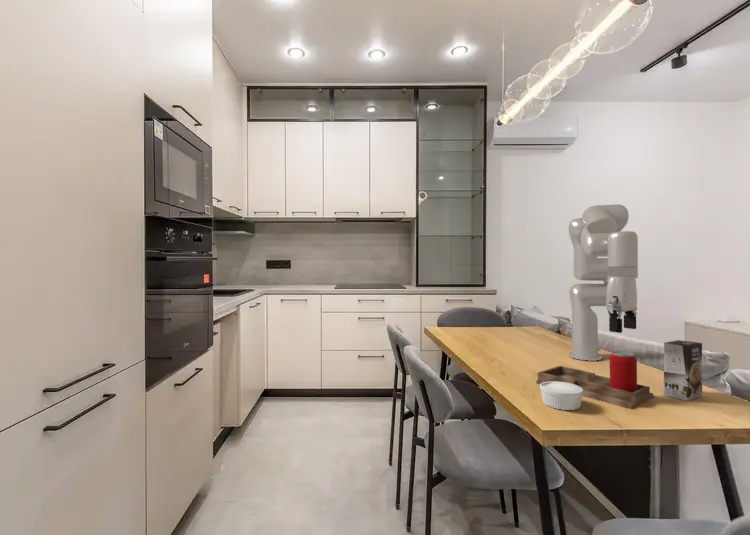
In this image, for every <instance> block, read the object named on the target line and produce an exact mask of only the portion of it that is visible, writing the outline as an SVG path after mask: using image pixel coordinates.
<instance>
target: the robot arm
mask: <svg viewBox="0 0 750 535" xmlns="http://www.w3.org/2000/svg"><path fill="white" fill-rule="evenodd" d="M629 216H630V215H629V210H628V209H627V207H626V206H624V205H623V204H616V203H615V204H599V205H593V206H592V205H591V206H589V207H587V208H586V209H585V210H584V211H583V213H582V217H579V218H578V217H577V218H574V219H572V220H571V221H570V222H569V223H568V235H569V238H570V240H571V244H572V246H573V275H574V277H575V279H576V280H578V281H587V282H588V281H590V282H591V281H596V282H597V281H601V282H603V283H590V282H589V283H584V282H583V283H575V284H573V285H572V286H570V288H569V300H570V304H571V305H570V306H571V326H572V327H571V328H572V329H571V334H572V336H571V337H572V338H571V341H572V343H571V344H572V349H571V350H572V351H570V352H568V355H569V356H568V357H569V358H571V359H574V358H575V359H574V360H578V359H579V361H585V360H588V362H589V361H590V362H596V361H597V360H599V361H601V359H602V360H603V356H602V355H601V354H599V351H601V346H599V340H598V339H599V334H598V333H599V327H598V325H599V324H598V323H599V321H598V320H599V319H598V318H599V317H598V315H597V313H596V312H595V311H594V310H593V309H592V308H591V307H606V308H605V309H606V310H607V313H608V320H609V321H608V322H609V324H608V326H609V329H608V330H609V332H610V333H620V334H621V333H623V328H624V329H629V330H636V329H637V309H638V308H637V307H638V292H637V291H638V289H637V279H638V278H639V267H638V266H639V258H638V257H639V254H638V253H639V252H638V251H639V249H638V248H639V247H638V246H639V245H638V242H639V240H638V238H639V236H638V234H637V233H636V232H635V231H633V230H632V231H630V230H628V231H627V230H623V229H624V228H626V226H627V224H628V223H629V218H630V217H629ZM623 313H624V314H623ZM622 315H623V318H621V317H622ZM597 362H598V361H597Z"/></svg>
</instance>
